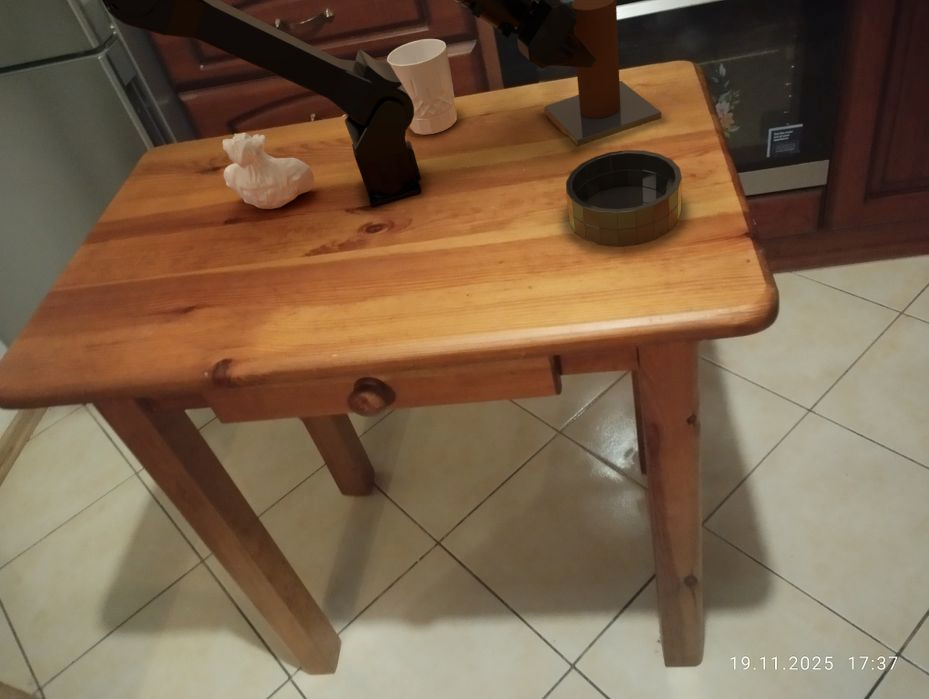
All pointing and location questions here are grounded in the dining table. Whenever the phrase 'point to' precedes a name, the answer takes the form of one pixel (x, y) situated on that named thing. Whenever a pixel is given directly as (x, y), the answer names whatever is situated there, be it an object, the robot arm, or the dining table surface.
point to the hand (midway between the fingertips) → (576, 50)
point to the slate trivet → (591, 129)
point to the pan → (624, 197)
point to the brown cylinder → (598, 57)
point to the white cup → (426, 83)
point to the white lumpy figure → (264, 173)
